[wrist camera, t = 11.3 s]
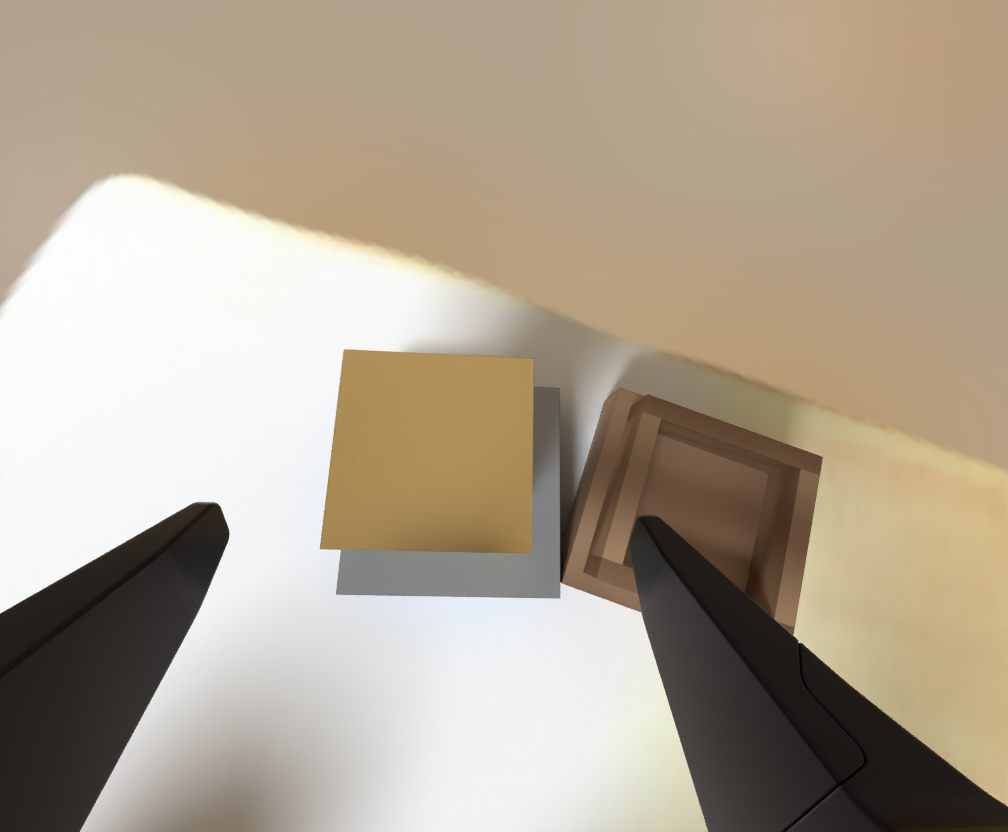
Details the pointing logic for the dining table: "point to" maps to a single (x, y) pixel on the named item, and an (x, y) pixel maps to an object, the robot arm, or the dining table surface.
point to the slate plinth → (479, 570)
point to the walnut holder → (691, 502)
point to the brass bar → (431, 454)
